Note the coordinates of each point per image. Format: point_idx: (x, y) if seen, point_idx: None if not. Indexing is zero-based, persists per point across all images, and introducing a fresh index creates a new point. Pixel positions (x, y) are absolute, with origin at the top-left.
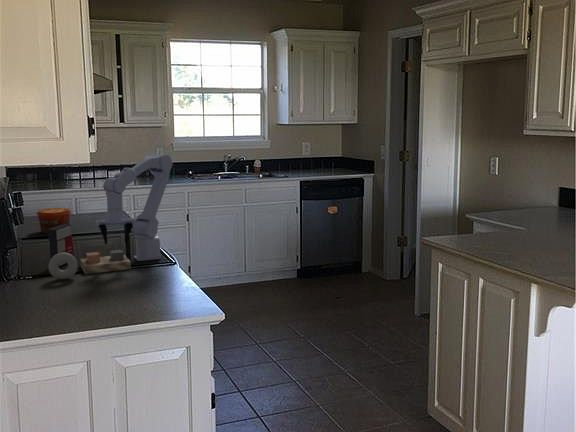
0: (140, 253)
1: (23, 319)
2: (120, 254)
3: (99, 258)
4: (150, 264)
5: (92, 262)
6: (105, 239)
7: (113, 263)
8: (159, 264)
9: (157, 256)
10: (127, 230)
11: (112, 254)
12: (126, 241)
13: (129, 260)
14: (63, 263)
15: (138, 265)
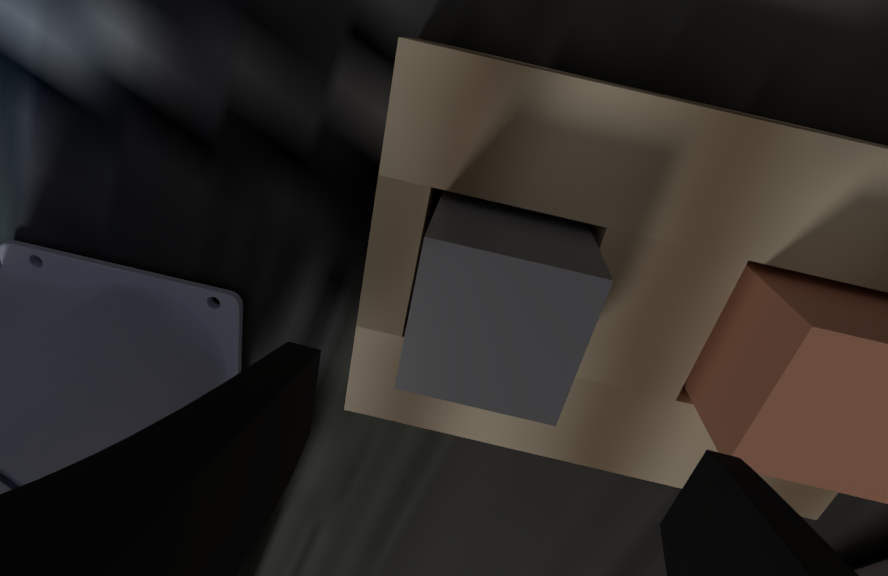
0: (167, 354)
1: None
2: (478, 235)
3: (785, 297)
4: (149, 100)
5: (858, 296)
6: (813, 540)
7: (654, 96)
8: (48, 29)
9: (21, 276)
10: (42, 569)
11: (602, 271)
12: (292, 354)
13: (392, 105)
14: (872, 571)
15: (284, 144)
